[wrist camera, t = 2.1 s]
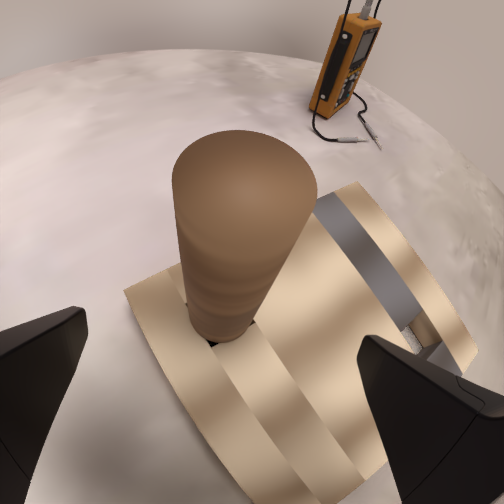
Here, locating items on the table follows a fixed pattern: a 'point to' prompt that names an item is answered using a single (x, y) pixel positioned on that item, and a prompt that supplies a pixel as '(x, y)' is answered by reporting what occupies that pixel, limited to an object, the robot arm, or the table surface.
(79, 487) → the table surface
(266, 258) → the brown round-topped cylinder
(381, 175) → the table surface
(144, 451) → the table surface
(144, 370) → the table surface
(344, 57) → the multimeter
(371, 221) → the board
